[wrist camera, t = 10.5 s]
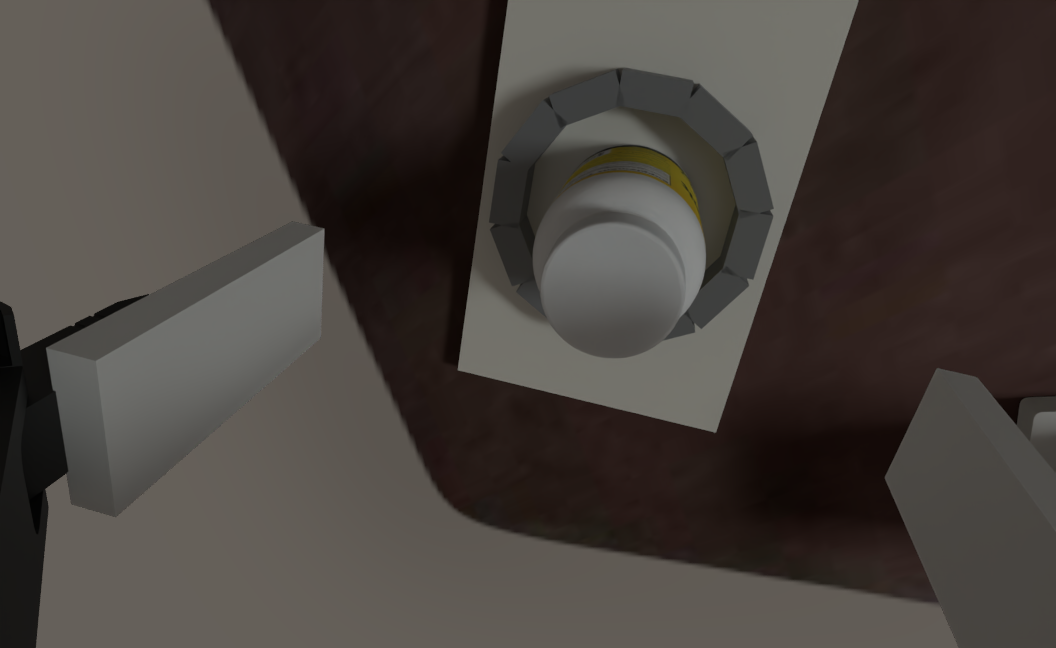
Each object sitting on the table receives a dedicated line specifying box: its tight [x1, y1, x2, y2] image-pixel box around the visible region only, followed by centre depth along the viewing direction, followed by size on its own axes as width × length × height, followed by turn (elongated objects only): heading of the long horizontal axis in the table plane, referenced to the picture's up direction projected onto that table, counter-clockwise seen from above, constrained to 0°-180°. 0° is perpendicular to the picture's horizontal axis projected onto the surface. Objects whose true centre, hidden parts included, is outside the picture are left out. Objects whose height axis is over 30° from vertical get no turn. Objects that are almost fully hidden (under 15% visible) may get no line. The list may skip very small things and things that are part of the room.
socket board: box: [458, 0, 858, 432], centre depth 27 cm, size 18×12×2 cm, turn 170°
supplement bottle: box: [533, 145, 706, 358], centre depth 23 cm, size 5×5×10 cm
